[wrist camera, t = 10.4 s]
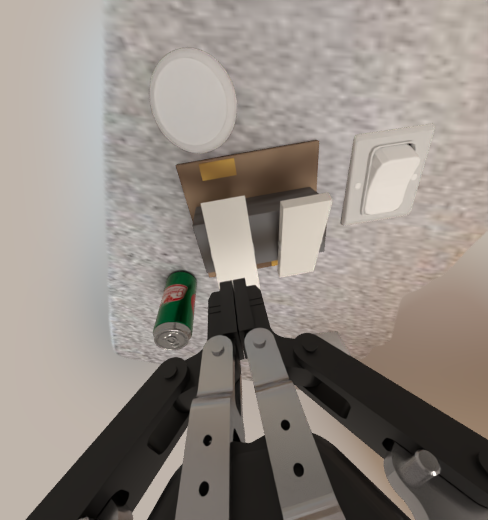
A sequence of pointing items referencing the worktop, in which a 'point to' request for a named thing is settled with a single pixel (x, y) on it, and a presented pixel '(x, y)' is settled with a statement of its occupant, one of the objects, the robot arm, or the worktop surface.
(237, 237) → the block
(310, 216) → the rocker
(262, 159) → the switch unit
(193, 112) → the supplement bottle
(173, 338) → the soda can
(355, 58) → the worktop surface
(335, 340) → the tea bag
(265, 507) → the robot arm
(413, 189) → the light switch
